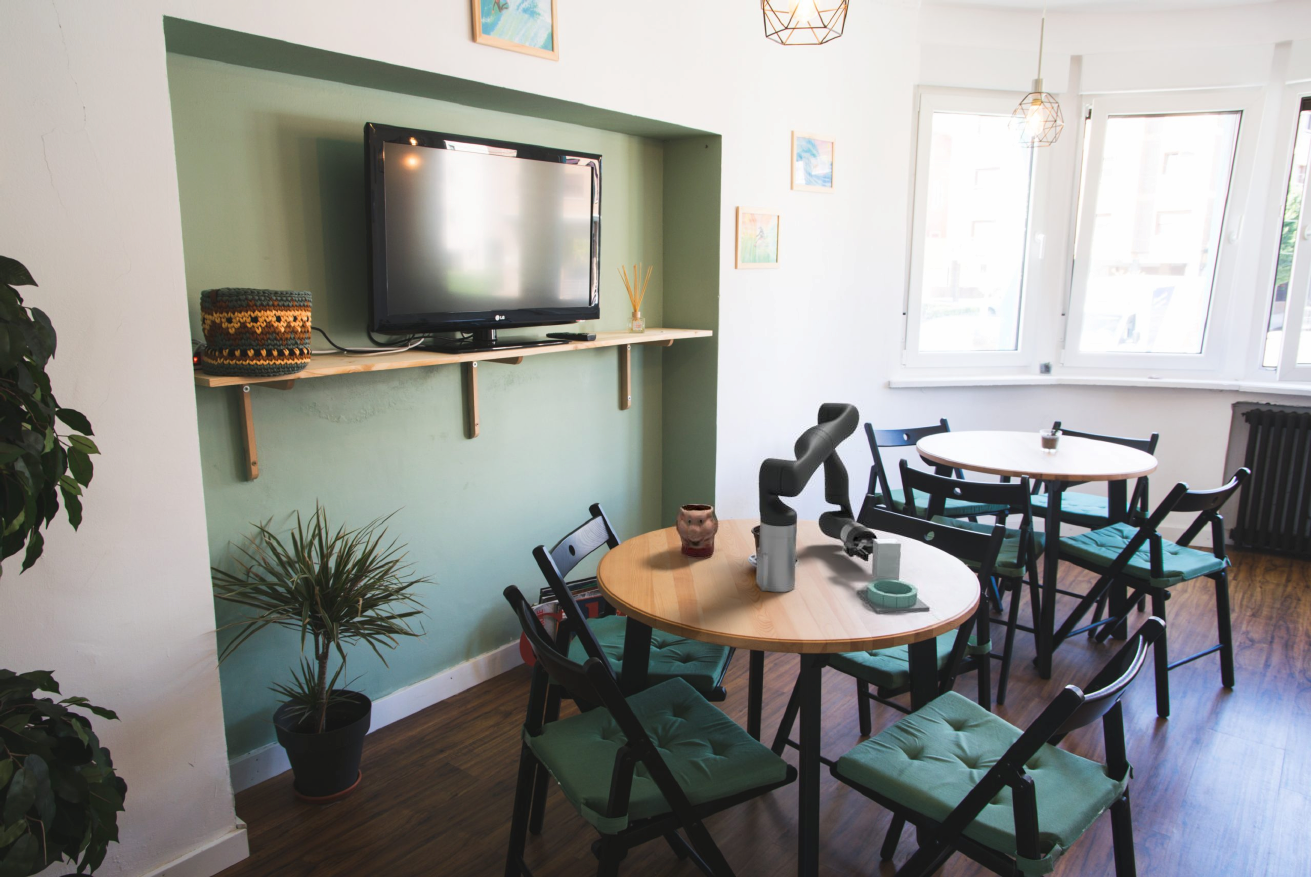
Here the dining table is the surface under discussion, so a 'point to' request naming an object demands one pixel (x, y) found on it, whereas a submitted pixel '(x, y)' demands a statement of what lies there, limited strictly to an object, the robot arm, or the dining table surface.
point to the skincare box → (886, 559)
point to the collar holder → (892, 597)
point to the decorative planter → (697, 530)
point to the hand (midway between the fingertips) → (882, 556)
